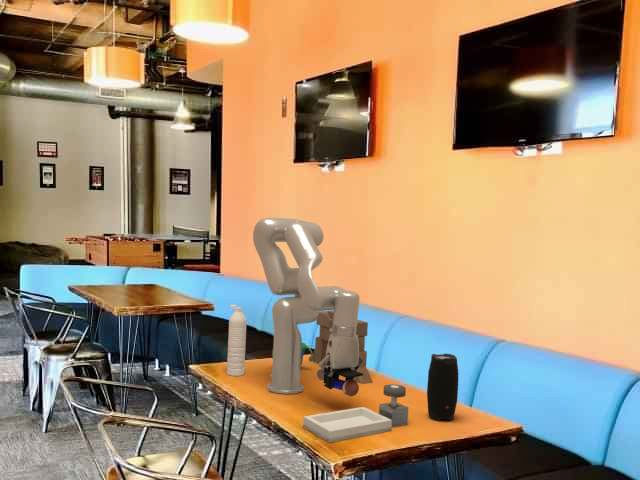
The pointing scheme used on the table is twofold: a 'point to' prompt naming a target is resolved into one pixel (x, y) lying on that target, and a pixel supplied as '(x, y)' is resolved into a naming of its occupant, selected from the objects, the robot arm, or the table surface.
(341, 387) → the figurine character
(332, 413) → the tray
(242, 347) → the water bottle
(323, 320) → the brown block wall
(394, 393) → the gray mushroom knob
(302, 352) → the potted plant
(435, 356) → the portable speaker
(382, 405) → the block
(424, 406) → the table surface
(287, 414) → the table surface
